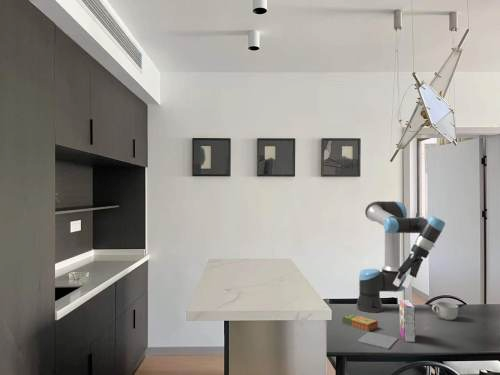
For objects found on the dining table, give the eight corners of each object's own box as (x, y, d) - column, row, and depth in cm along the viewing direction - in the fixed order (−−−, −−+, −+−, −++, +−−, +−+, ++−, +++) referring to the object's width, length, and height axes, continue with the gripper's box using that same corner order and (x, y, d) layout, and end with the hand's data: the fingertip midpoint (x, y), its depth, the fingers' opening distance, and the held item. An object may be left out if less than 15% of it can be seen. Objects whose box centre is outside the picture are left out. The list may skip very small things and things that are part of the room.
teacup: (452, 315, 208) (452, 301, 209) (462, 322, 198) (461, 307, 198) (427, 314, 210) (427, 300, 210) (435, 321, 199) (434, 306, 199)
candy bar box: (399, 333, 180) (398, 299, 180) (410, 334, 179) (409, 300, 179) (403, 341, 169) (403, 305, 169) (415, 342, 168) (415, 306, 168)
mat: (368, 332, 180) (368, 331, 180) (397, 339, 172) (397, 338, 172) (357, 341, 168) (357, 340, 168) (388, 349, 160) (388, 348, 160)
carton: (368, 332, 182) (368, 323, 182) (342, 323, 194) (342, 315, 194) (378, 329, 187) (377, 320, 187) (351, 320, 199) (351, 312, 199)
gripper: (422, 247, 162) (399, 289, 163) (436, 254, 180) (415, 292, 182) (406, 239, 167) (384, 279, 168) (421, 247, 185) (401, 283, 187)
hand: (400, 286), depth 175 cm, fingers open, 13 cm apart
